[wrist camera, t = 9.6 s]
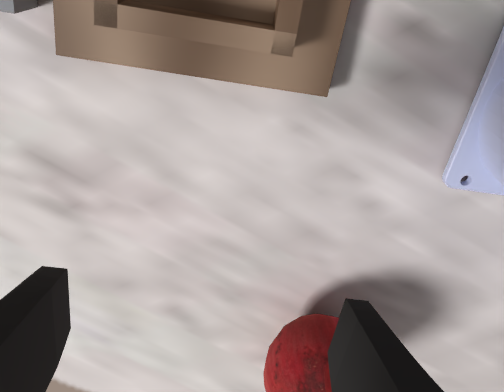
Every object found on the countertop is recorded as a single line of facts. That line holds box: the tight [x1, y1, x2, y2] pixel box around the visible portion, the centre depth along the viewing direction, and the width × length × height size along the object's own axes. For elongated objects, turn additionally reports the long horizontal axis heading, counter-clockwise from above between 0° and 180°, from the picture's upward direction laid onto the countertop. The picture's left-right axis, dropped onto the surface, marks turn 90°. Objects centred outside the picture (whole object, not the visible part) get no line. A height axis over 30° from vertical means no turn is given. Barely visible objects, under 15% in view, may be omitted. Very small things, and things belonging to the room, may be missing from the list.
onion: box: [264, 314, 339, 392], centre depth 22 cm, size 6×6×8 cm
